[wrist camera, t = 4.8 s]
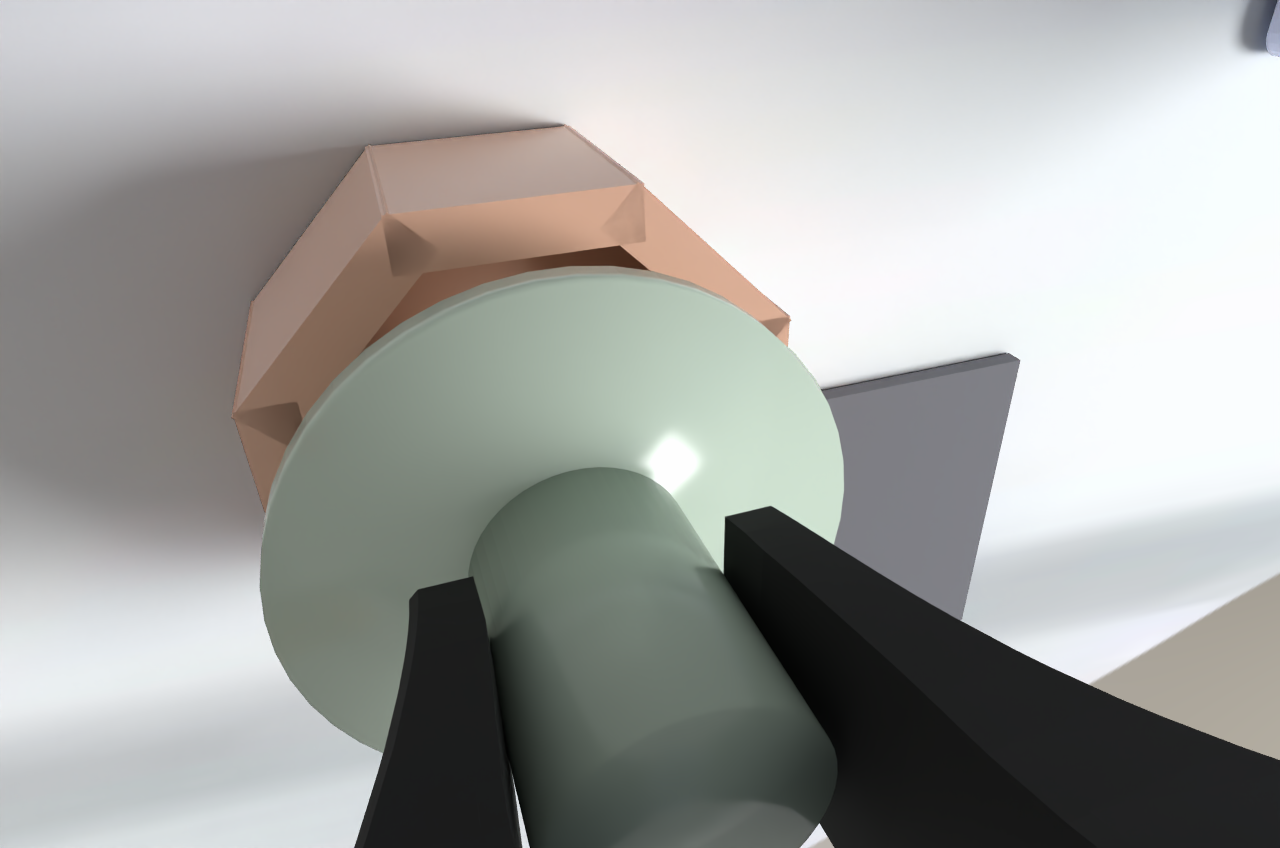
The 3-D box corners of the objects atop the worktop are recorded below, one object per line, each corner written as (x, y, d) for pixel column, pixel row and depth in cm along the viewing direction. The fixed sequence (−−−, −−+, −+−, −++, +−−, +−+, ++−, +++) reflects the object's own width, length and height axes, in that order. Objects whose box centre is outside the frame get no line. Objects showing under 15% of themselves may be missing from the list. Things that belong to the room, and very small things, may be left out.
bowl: (695, 110, 15) (801, 161, 12) (694, 481, 19) (773, 594, 16) (207, 160, 13) (172, 237, 10) (325, 564, 17) (328, 713, 14)
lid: (887, 283, 11) (1176, 456, 8) (757, 707, 15) (909, 971, 11) (247, 242, 8) (196, 486, 5) (273, 777, 12) (252, 1165, 8)
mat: (1009, 352, 20) (1020, 360, 20) (953, 610, 25) (961, 619, 24) (684, 418, 18) (691, 427, 18) (685, 687, 23) (691, 698, 22)
